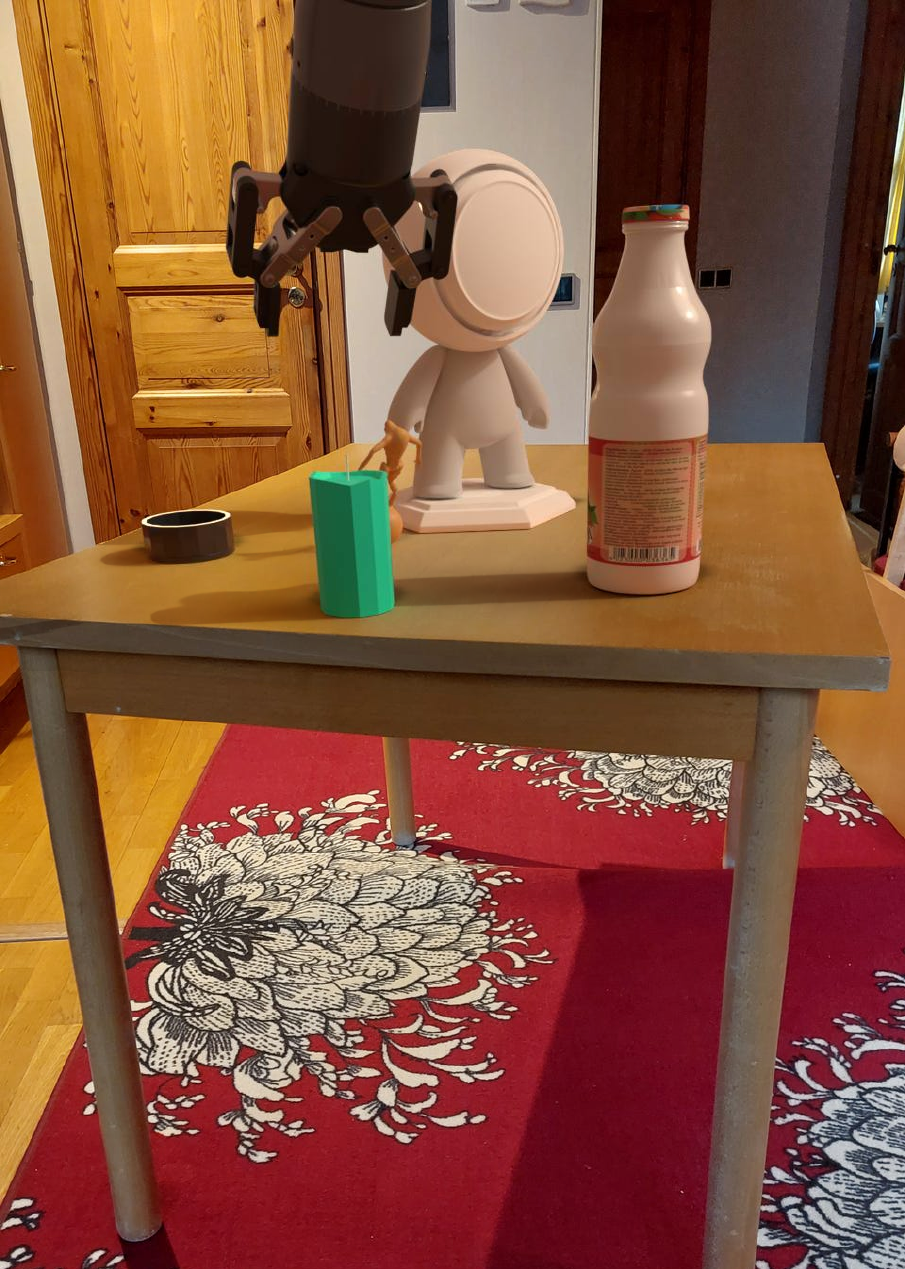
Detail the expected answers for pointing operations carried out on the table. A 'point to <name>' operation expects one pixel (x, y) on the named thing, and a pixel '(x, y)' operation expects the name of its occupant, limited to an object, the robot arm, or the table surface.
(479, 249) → the big headed doll
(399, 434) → the figurine
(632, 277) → the fruit juice
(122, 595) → the table surface
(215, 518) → the tape roll
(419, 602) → the table surface
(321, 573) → the candle
